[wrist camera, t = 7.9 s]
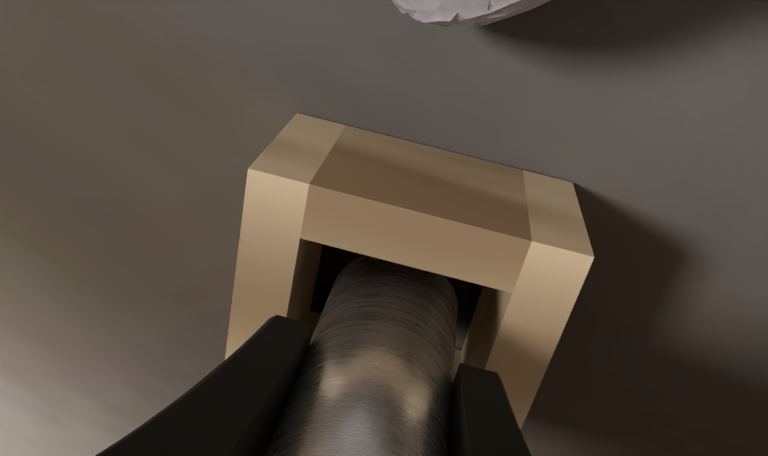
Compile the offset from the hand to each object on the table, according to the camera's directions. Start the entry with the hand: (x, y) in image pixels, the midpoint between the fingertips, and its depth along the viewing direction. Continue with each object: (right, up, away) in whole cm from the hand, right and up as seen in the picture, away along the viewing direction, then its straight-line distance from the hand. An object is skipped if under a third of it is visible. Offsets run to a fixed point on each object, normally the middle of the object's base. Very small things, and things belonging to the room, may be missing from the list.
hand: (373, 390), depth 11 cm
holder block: (+1, +2, +4) cm, 4 cm away
